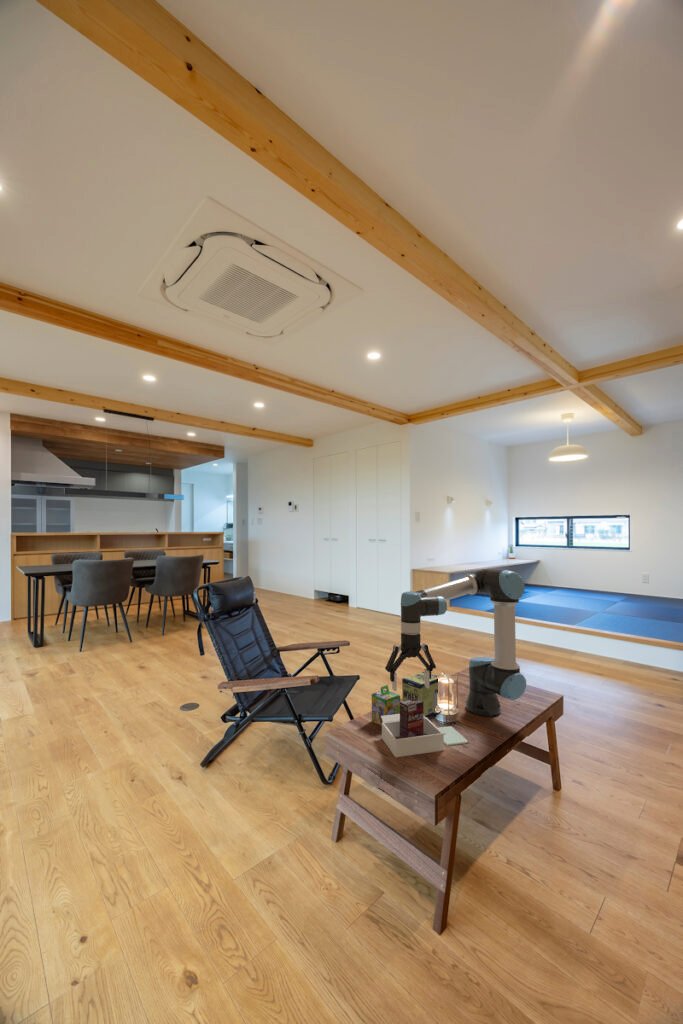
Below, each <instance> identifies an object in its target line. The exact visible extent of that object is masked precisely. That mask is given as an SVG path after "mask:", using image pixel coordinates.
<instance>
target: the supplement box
mask: <svg viewBox="0 0 683 1024" xmlns="http://www.w3.org/2000/svg"><path fill="white" fill-rule="evenodd" d="M424 735H425V734H424V711H423V701H421V700H419V699H417V698H414V699H411V700H407V701H400V737H399V739H401V738H409V737H416V736H424Z"/></svg>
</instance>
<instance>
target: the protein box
mask: <svg viewBox="0 0 683 1024" xmlns="http://www.w3.org/2000/svg"><path fill="white" fill-rule="evenodd" d="M437 677H438V676H437V675H435V674H431V679H429V688H427V687H425V676H424V671H421V672H419V673H416V674H413V675H410V676H407V677H406V676H405V677H403V678H401V680H402V681H401V682H402V683H401V686H402V687H401V689H402V693H401V695H402V701H401V702H403V701H407V700H411V699H414V698H417V699H419V700H421V701H423V711H424V716H425V717H427V718H428V719H429V718H431V717H434V716H435V715H434V711H435V708H436V706H437V694H438V678H437Z"/></svg>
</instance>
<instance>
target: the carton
mask: <svg viewBox="0 0 683 1024" xmlns="http://www.w3.org/2000/svg"><path fill="white" fill-rule="evenodd" d="M381 718H382V721H383V723H382V726H381V740H382V741H383V742H384V744H385V745H386V746H387V747H388V749H389V750H390V752H391V753H392V755H393V756H394V758H400V757H407V756H415V755H421V754H429V753H436V752H442V751H445V747H444V746H445V745H444V744H445V743H444V735H445V734H446V733H444V734H443V733H442V732H441V731H440V730H439V729H438V728H439V727H437V726H436V724H434V723H433V722H432V721H431V720H430V719H429V718H427V717H425V716H424V736H416V737H409V738H401V739H400V714H394V715H385V716H381Z"/></svg>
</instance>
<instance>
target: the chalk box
mask: <svg viewBox="0 0 683 1024" xmlns="http://www.w3.org/2000/svg"><path fill="white" fill-rule="evenodd" d="M400 702H401V696H400V695H399V694H397V693H395V692H393V691H390V690H389V684H385V685H383V686H381V687H380V691H377V692H376V691H375V692H374V693H372V694H371V722H373V723H375V724H376V725H379V726H380V727H382V723H383V721H382V718H381V716H385V715H394V714H400Z"/></svg>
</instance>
